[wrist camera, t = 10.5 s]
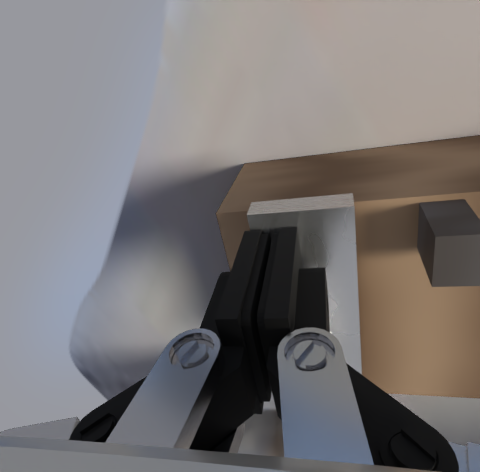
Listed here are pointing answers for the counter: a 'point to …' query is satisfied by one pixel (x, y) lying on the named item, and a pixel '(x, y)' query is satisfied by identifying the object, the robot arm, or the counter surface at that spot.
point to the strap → (323, 254)
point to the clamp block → (396, 253)
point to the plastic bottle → (263, 433)
